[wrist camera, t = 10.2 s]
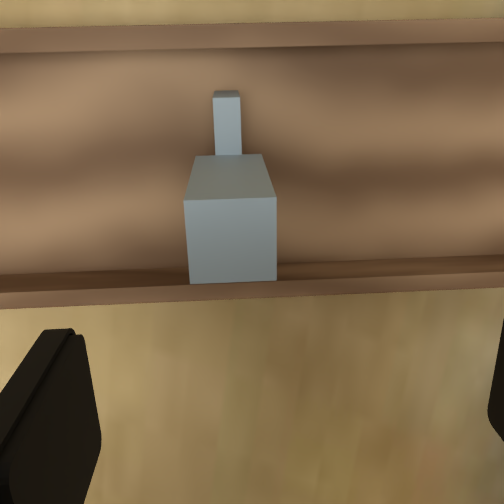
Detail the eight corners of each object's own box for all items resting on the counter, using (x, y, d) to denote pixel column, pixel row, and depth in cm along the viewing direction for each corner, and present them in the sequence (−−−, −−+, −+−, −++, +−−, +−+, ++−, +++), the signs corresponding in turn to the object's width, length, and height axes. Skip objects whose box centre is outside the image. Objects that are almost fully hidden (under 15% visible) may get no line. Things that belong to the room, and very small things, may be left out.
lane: (601, 256, 31) (685, 302, 25) (-193, 289, 29) (-294, 347, 23) (670, 17, 26) (797, 8, 20) (-301, 38, 24) (-468, 34, 18)
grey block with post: (257, 234, 28) (276, 341, 18) (205, 236, 28) (195, 345, 17) (255, 89, 25) (276, 117, 14) (196, 91, 24) (176, 120, 14)
